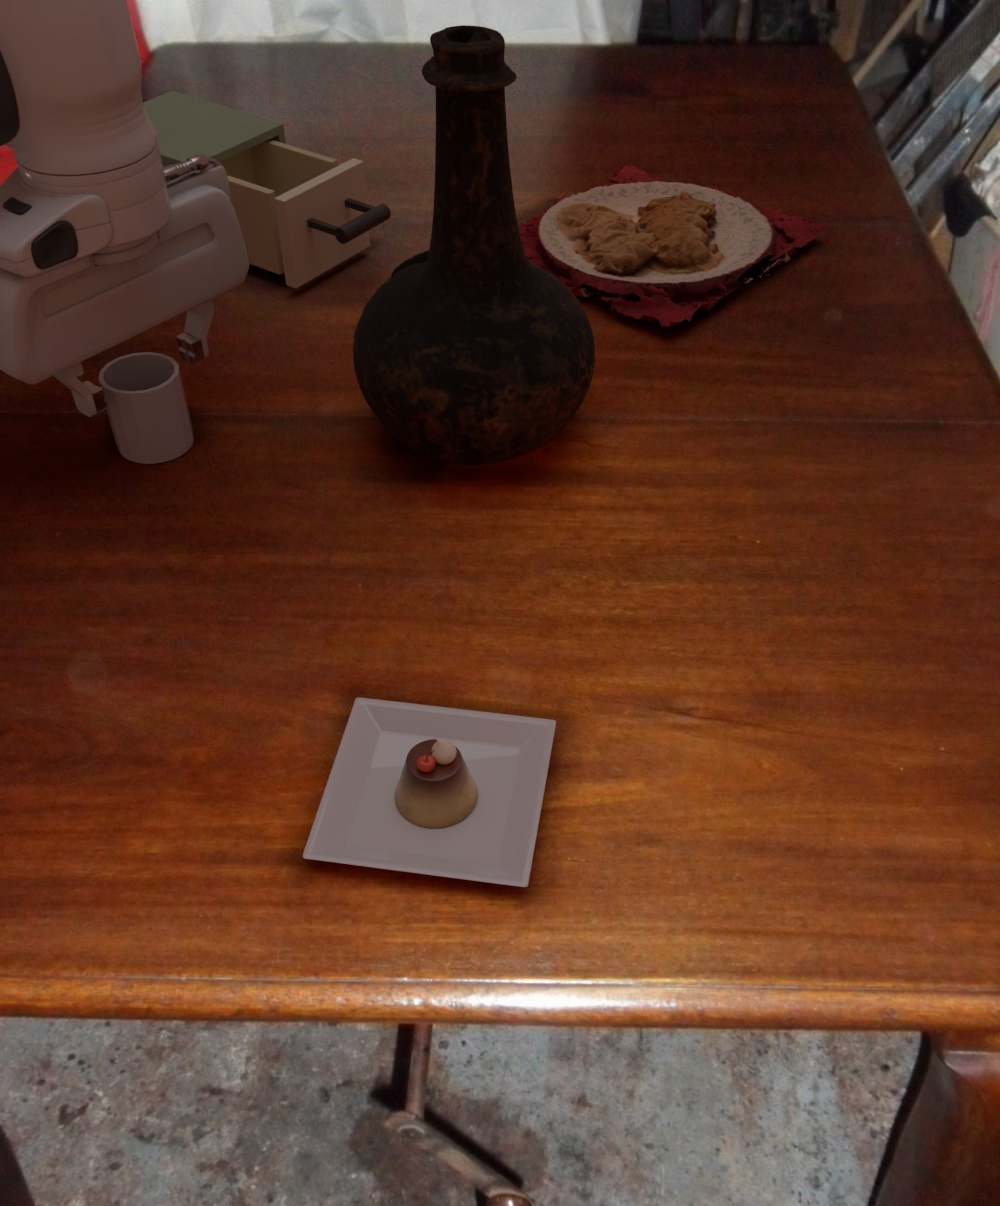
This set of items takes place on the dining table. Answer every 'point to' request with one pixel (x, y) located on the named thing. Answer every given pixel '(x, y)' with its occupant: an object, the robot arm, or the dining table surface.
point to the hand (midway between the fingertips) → (145, 383)
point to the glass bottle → (473, 292)
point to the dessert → (435, 792)
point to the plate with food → (659, 243)
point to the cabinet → (205, 128)
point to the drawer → (300, 209)
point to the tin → (147, 407)
